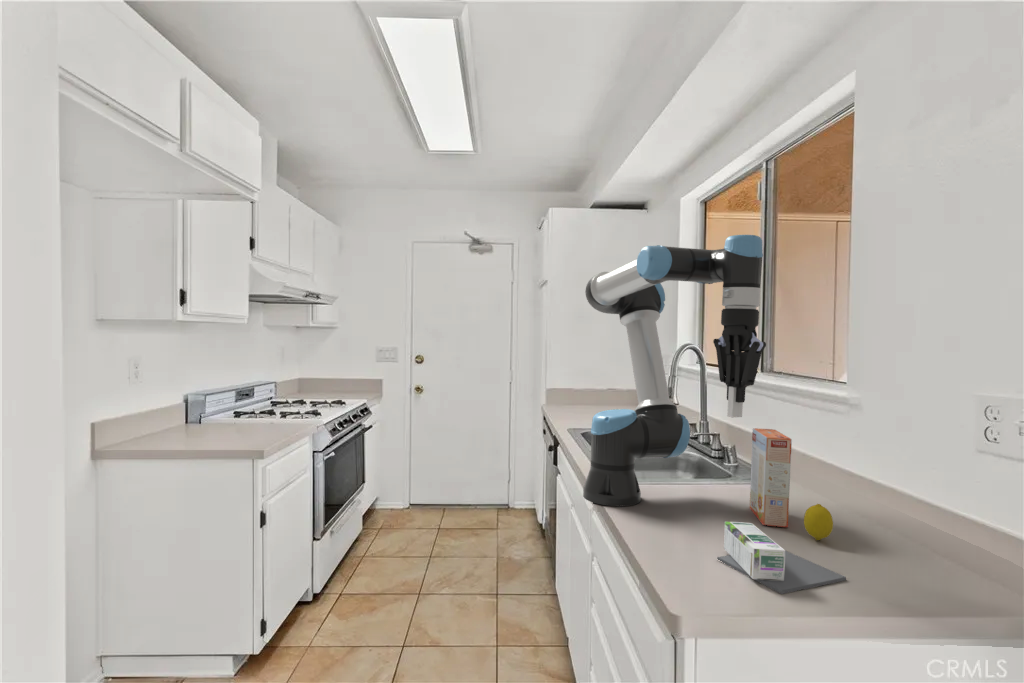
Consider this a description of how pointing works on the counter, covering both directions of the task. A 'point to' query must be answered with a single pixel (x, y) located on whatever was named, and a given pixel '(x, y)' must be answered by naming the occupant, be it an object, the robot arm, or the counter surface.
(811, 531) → the lemon
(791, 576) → the mat
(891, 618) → the counter surface
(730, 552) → the syrup box
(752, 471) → the cracker box
